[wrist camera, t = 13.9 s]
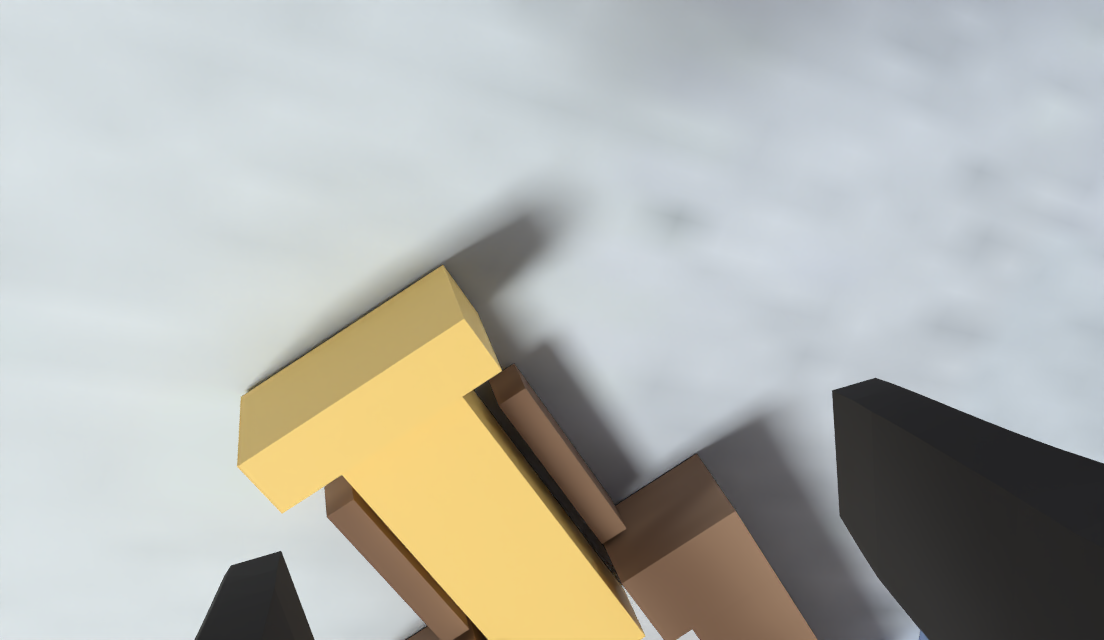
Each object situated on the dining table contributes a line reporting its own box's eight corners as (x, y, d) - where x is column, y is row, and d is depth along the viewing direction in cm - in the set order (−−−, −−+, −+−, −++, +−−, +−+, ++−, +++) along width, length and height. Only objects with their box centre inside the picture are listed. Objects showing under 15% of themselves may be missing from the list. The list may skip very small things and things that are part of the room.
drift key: (443, 264, 22) (464, 318, 20) (659, 566, 27) (697, 640, 25) (241, 396, 23) (236, 466, 20) (492, 673, 28) (513, 756, 25)
